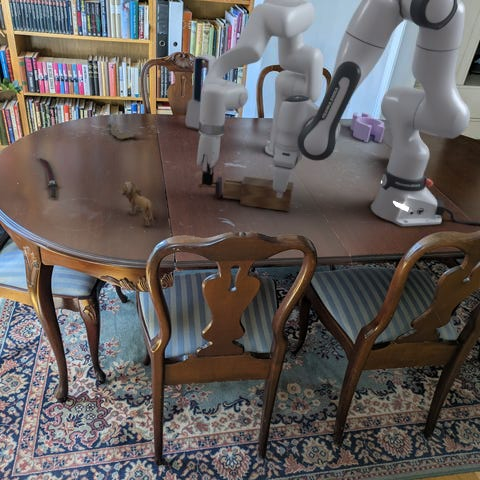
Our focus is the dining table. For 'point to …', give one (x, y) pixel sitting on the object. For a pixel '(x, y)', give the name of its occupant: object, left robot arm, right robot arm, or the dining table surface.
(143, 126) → the dining table surface
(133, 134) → the jawbone
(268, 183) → the cabinet
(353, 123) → the clip
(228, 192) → the wooden handle frame
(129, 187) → the lion figurine
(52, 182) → the sword
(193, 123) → the electronic device
